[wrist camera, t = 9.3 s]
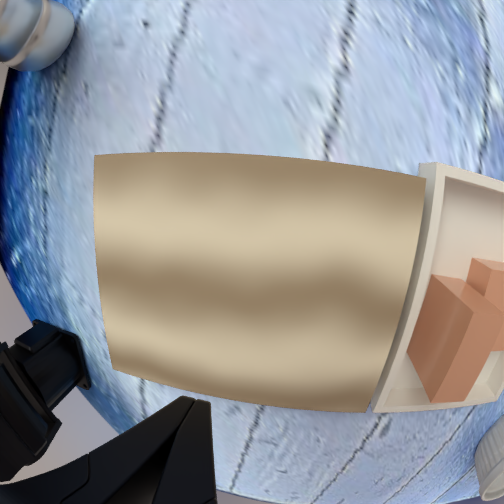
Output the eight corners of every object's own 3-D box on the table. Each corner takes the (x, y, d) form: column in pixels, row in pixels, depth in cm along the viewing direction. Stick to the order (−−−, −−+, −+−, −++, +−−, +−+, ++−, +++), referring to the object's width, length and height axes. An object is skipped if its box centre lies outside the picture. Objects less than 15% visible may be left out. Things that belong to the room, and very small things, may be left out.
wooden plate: (358, 379, 19) (365, 412, 15) (135, 344, 21) (112, 369, 18) (402, 176, 15) (426, 178, 12) (127, 156, 17) (94, 155, 14)
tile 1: (405, 350, 17) (434, 351, 17) (430, 403, 12) (464, 401, 12) (431, 273, 16) (461, 278, 15) (473, 312, 10) (506, 315, 10)
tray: (485, 384, 17) (496, 401, 15) (367, 389, 19) (372, 412, 16) (542, 200, 13) (562, 205, 11) (418, 163, 15) (436, 162, 12)
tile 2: (463, 352, 14) (449, 333, 16) (515, 349, 13) (500, 333, 16) (491, 269, 12) (471, 257, 15) (541, 276, 12) (522, 265, 14)
